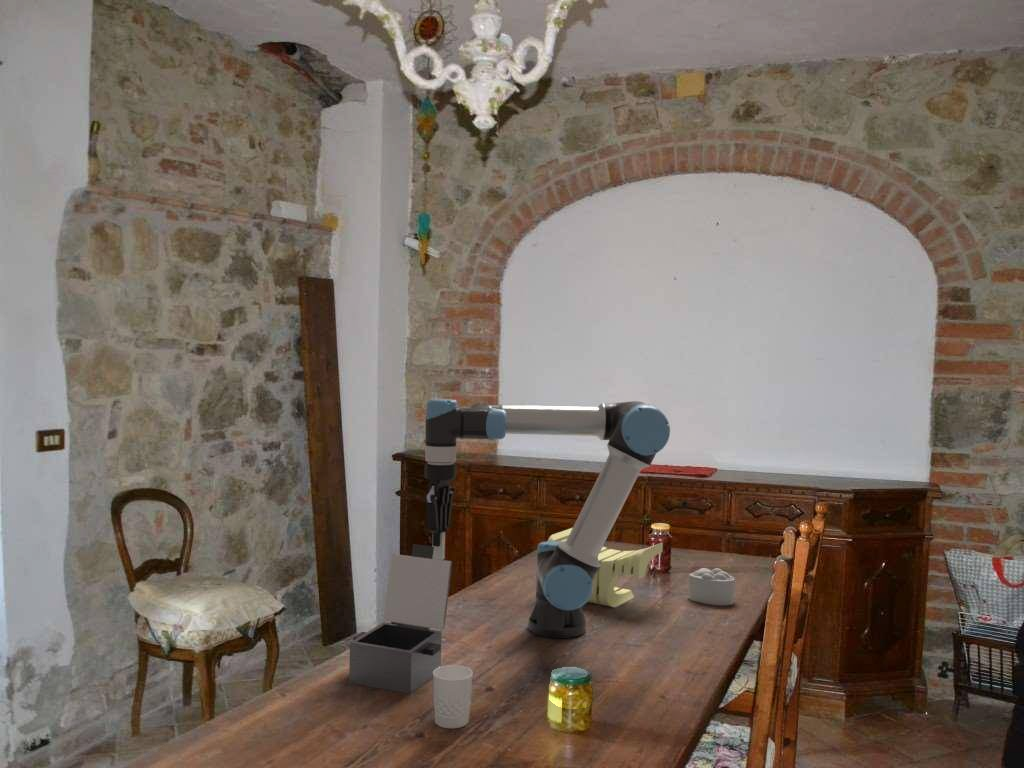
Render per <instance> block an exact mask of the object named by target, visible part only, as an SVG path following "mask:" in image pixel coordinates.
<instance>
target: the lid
mask: <svg viewBox="0 0 1024 768" xmlns="http://www.w3.org/2000/svg"><path fill="white" fill-rule="evenodd" d="M433 550H434V547H432V545H431V546H430V545H424V544H423V545H420V544H414V543H413V544H412V547H411V555H403V554H396V553H391V556H390V565H389V571H388V572H389V573H388V578H387V579H388V580H387V585H386V592H385V593H386V596H385V603H384V611H383V616H382V617H383V618H382V621H383V622H389V623H395V624H398V625H404V626H410V627H417V628H423V629H430V630H431V629H434V630H440V631H441V630H442V631H444V630H445V629H446V627H445V626H446V619H447V613H448V612H447V610H448V602H449V596H450V595H449V594H450V586H451V577H452V569H453V560H446V559H443V560H439V559H432V558H433Z"/></svg>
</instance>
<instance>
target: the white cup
mask: <svg viewBox="0 0 1024 768" xmlns="http://www.w3.org/2000/svg"><path fill="white" fill-rule="evenodd" d="M473 675H474V672H473V670H472V669H471V668H469V667H467V666H464V665H461V664H460V665H459V664H448V665H441V667H438V668H436V669H435V670H434V671H433V677H432V688H433V689H432V690H433V692H432V693H433V709H434V723H435V725H437V726H438V727H441V728H442V729H443V728H444V729H453V730H454V729H460V728H462V727H465V726H466V725H468V724H469V719H470V709H471V701H472V688H473Z"/></svg>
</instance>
